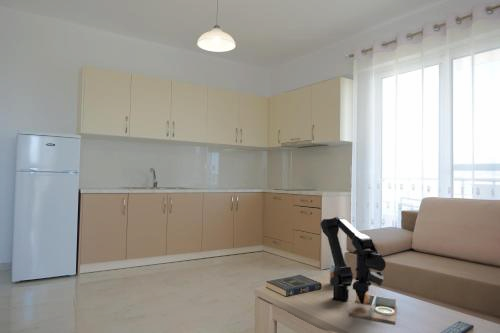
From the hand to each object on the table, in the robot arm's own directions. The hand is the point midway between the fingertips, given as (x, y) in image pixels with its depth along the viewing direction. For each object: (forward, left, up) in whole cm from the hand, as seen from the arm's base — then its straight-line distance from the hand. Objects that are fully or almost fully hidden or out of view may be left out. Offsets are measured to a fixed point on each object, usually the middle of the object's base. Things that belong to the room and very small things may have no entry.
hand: (362, 301), depth 150 cm
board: (+4, 0, -4) cm, 6 cm away
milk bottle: (-17, +32, -4) cm, 37 cm away
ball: (0, 0, +2) cm, 2 cm away
